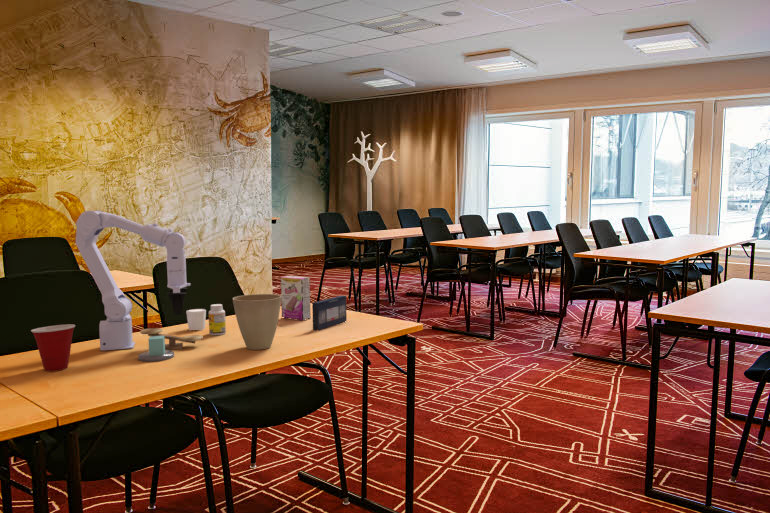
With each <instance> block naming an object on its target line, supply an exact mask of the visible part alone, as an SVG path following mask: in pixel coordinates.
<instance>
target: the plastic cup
mask: <svg viewBox="0 0 770 513" xmlns="http://www.w3.org/2000/svg"><path fill="white" fill-rule="evenodd" d="M75 327H76V325H75V324H69V323H68V324H56V325H48V326H42V327H37V328H34V329H33V328H32V329H31V330H30V332H32V334H33V337H34V338H35V341H36V345H37V349H38V352H39V356H40V359H41V364H42V367H43V369H44V370H43V371H45V372H58V371H65V369H68V367H69V363H70V361H69V360H70V356H71V351H72V350H71V348H72V339H73V335H74V334H73V333H74V329H75Z"/></svg>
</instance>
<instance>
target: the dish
mask: <svg viewBox="0 0 770 513" xmlns="http://www.w3.org/2000/svg"><path fill="white" fill-rule="evenodd" d="M174 357H175V352H174V351H173V350H165V353H164V355H159V356H149V350H148V351H144V352H141V353H139V354H138V357H137V360H138V361H141V362H144V363H147V362H149V363H151V362H152V363H153V362H163V361H166V360H170V359H172V358H174Z"/></svg>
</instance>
